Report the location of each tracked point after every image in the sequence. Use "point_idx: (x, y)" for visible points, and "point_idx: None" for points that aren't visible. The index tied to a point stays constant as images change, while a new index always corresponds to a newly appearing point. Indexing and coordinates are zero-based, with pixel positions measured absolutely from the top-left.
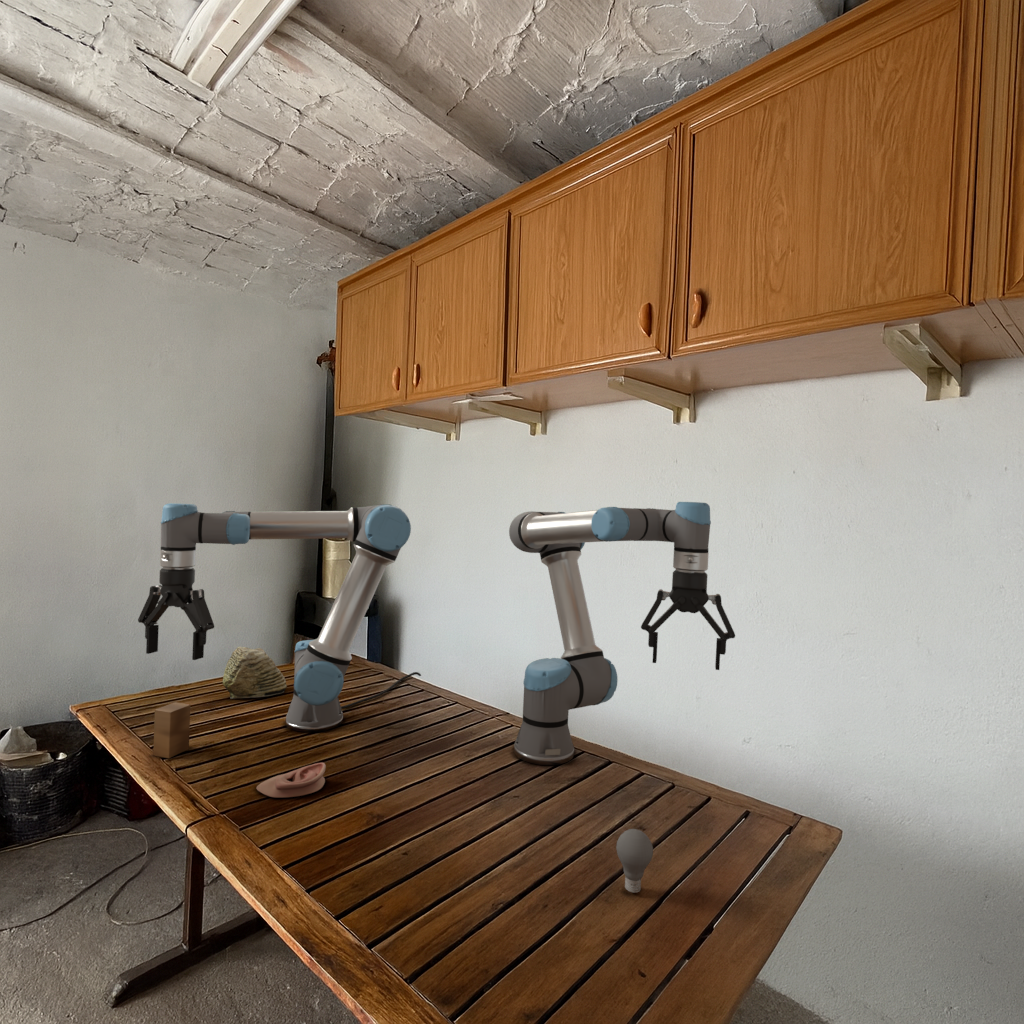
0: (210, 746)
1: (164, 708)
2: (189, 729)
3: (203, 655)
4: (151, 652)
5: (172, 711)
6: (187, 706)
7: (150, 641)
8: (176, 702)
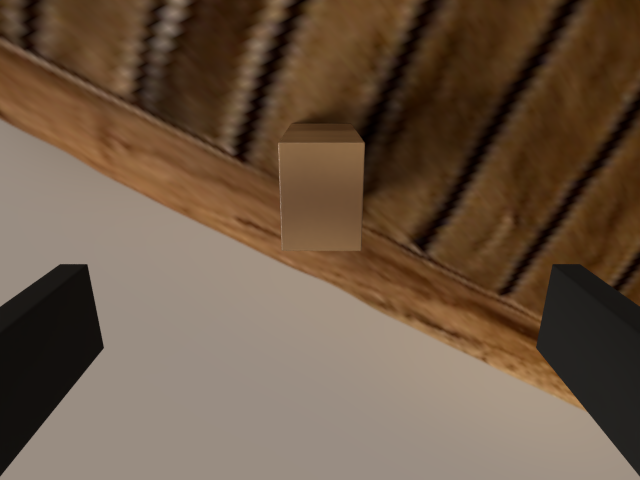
0: (399, 78)
1: (303, 224)
2: (355, 130)
3: (588, 270)
4: (96, 326)
5: (360, 240)
6: (363, 160)
7: (41, 403)
8: (288, 145)
